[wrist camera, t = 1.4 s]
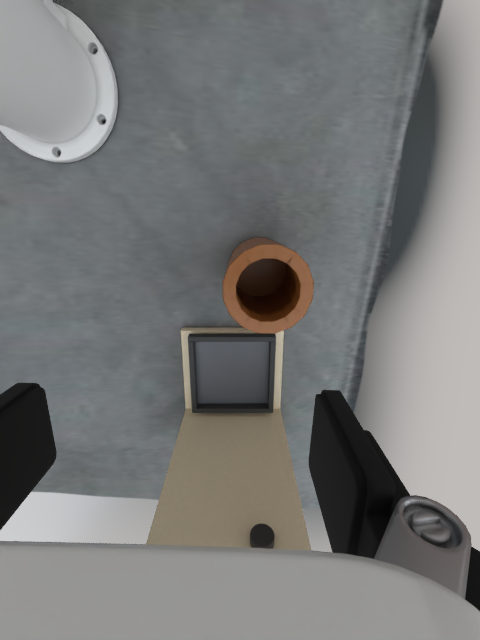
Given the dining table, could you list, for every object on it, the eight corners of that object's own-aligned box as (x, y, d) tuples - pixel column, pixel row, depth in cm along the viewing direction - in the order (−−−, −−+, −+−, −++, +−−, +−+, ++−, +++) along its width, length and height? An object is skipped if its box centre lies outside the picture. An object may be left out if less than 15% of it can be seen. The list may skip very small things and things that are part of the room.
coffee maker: (181, 327, 36) (77, 512, 13) (283, 327, 36) (361, 512, 13) (188, 439, 41) (122, 720, 18) (278, 439, 41) (328, 720, 18)
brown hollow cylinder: (228, 237, 33) (221, 244, 22) (290, 237, 33) (316, 244, 22) (228, 297, 35) (223, 333, 24) (287, 298, 35) (310, 333, 24)
